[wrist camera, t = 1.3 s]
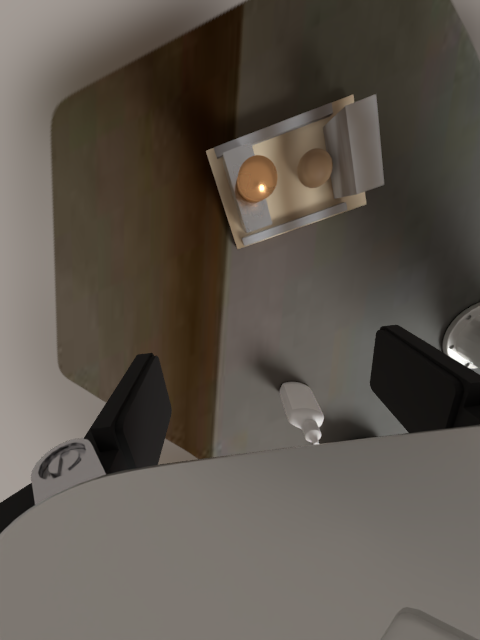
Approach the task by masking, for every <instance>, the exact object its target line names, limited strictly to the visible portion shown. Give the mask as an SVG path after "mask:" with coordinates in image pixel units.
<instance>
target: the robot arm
mask: <svg viewBox="0 0 480 640" xmlns="http://www.w3.org/2000/svg"><path fill="white" fill-rule="evenodd" d="M443 352H444V353H443ZM443 352H441V351H440V350H438V349H436V348H435V347H433V346H431V345H430V344H428V343H426V342H425V341H423V340H422V339H420V338H418V337H417V336H415V335H413V334H412V333H410V332H408V331H407V330H405V329H403V328H402V327H400V326H398V325H390V326H382V327H381V328H380V330H378V331H377V332H376V338H375V346H374V354H373V362H372V370H371V379H370V386H371V389H372V391H373V392H374V393H375V394H376V395H377V396H378V398H379V399H380V400H381V401H382V402H383V403H384V405H385V406H386V407H387V408H388V409H389V410H390V411H391V413H392V414H393V415H394V416H395V417H396V418H397V420H398V421H399V422H400V423H401V424H402V425H403V426H404V428H405V429H406V430H407V431H408V432H409V433H406V434H398V435H389V436H381V437H372V438H364V439H356V440H347V441H339V442H331V443H323V444H315V445H307V446H299V447H291V448H283V449H275V450H267V451H259V452H252V453H244V454H236V455H229V456H221V457H213V458H205V459H198V460H191V461H182V462H175V463H167V464H160V465H158V462H159V458H160V454H161V450H162V447H163V443H164V439H165V436H166V432H167V428H168V425H169V421H170V417H171V404H170V400H169V396H168V393H167V389H166V385H165V381H164V377H163V373H162V369H161V365H160V362H159V358H158V356H154V355H153V354H152V353H148V354H139V355H137V356H136V358H135V359H134V361H133V362H132V364H131V365H130V367H129V369H128V370H127V372H126V373H125V375H124V376H123V378H122V380H121V381H120V383H119V384H118V386H117V387H116V389H115V390H114V392H113V394H112V395H111V397H110V398H109V400H108V401H107V403H106V404H105V406H104V408H103V409H102V411H101V412H100V414H99V415H98V417H97V419H96V420H95V422H94V423H93V425H92V426H91V428H90V429H89V431H88V433H87V434H86V436H85V437H84V439H83V438H78V439H73V440H69V441H66V442H64V443H62V444H59V445H58V446H56V447H54V448H53V449H51V450H50V451H49V452H47V453H46V454H45V455H44V456H43V457H42V458H41V459H40V460H39V461H38V462H37V463H36V465H35V467H34V469H33V470H32V474H31V481H32V483H31V484H29V485H27V486H26V487H24V488H23V489H21V490H20V491H18V492H17V493H15V494H13V495H12V496H10V497H9V498H7V499H6V500H4V501H3V502H1V503H0V640H480V375H479V374H477V373H476V372H474V371H473V370H471V369H473V368H480V303H477V304H475V305H473V306H471V307H469V308H467V309H466V310H464V311H463V312H462V313H461V314H459V315H458V316H457V317H456V318H455V319H454V320H453V322H452V323H451V324H450V326H449V327H448V329H447V331H446V333H445V335H444V339H443Z"/></svg>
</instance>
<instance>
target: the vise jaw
mask: <svg viewBox="0 0 480 640" xmlns="http://www.w3.org/2000/svg"><path fill="white" fill-rule="evenodd" d="M223 165H224V169H225V172H226V175H227V179H228V182H229V185H230V188H231V192H232V195H233V198H234V201H235V205H236V208H237V211H238V214H239V218H240V221H241V224H242V228H243V231H244V232H246V233H249V232H251V231H254V230H257V229H260V228H263V227H266V226H268V225H271V224H272V220H271V216H270V213H269V209H268V205H267V201H266V198H267V197H269V196H270V195H271V194H272V193H273V191H274V189H275V187H276V184H277V178H278V177H277V170H276V167H275V165H274V164H273V162H272V161H271V160H270V159H268V158H267V157H265V156H261V155H254V151H253V147H252V143H251V142H250V143H247V144H244V145H242V146H239V147H236V148H234V149H231V150H229V151H226V152H223Z"/></svg>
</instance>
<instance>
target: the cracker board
mask: <svg viewBox="0 0 480 640" xmlns="http://www.w3.org/2000/svg"><path fill="white" fill-rule="evenodd" d="M250 142H251V143H252V147H253V151H254V155H261V156H265V157H267V158H268V159H270V160H271V161H272V162H273V164H274V165H275V167H276V170H277V177H278V178H277V184H276V187H275V189H274V191H273V193H272V194H271V195H270V196H269V197H267V198H266V201H267V205H268V209H269V213H270V216H271V220H272V224H271V225H268V226H266V227H263V228H260V229H257V230H254V231H251V232H249V233H246V232H244V231H243V228H242V224H241V221H240V218H239V214H238V211H237V208H236V205H235V201H234V198H233V195H232V192H231V188H230V185H229V182H228V179H227V175H226V172H225V169H224V165H223V152H226V151H229V150H231V149H234V148H236V147H239V146H242V145H244V144H247V143H250ZM315 148H320V149H324V150H325V151H327V152H328V153H329V154H330V156H331V158H332V162H333V169H332V173H331V175H330V177H329V179H328V180H327V181H326V182H325V183H324V184H323V185H321V186H319V187H317V188H308V187H306V186H304V185H303V184H302V183H301V182H300V180H299V178H298V174H297V168H298V164H299V161H300V159H301V158H302V156H303V155H304V154H305V153H306V152H308V151H309V150H311V149H315ZM206 154H207V157H208V160H209V163H210V166H211V169H212V172H213V175H214V178H215V181H216V184H217V188H218V191H219V194H220V197H221V200H222V203H223V206H224V209H225V212H226V215H227V218H228V222H229V225H230V228H231V231H232V234H233V237H234V240H235V243H236V246H237V249H240V248H243V247H245V246H248V245H251V244H254V243H257V242H260V241H263V240H266V239H268V238H271V237H274V236H277V235H280V234H283V233H286V232H288V231H291V230H294V229H297V228H300V227H303V226H306V225H309V224H311V223H314V222H317V221H320V220H323V219H326V218H329V217H331V216H334V215H337V214H340V213H343V212H346V211H349V210H352V209H354V208H357V207H360V206H363V205H366V196H365V191H368V190H371V189H373V188H376V187H379V186H382V185H384V175H383V164H382V153H381V142H380V131H379V120H378V109H377V98H376V94H375V95H373V96H370V97H367V98H365V99H362V100H359V101H357V102H354V95H350V96H348V97H345V98H343V99H340V100H337V101H335V102H331V103H329V104H326V105H323V106H321V107H318V108H316V109H313V110H310V111H308V112H305V113H303V114H300V115H297V116H295V117H292V118H290V119H287V120H284V121H282V122H279V123H276V124H274V125H271V126H269V127H266V128H263V129H261V130H258V131H256V132H253V133H250V134H248V135H245V136H243V137H240V138H237V139H235V140H232V141H229V142H227V143H224V144H222V145H219V146H216V147H214V148H212V149H209V150H207V151H206Z"/></svg>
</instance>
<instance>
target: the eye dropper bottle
mask: <svg viewBox="0 0 480 640" xmlns="http://www.w3.org/2000/svg"><path fill="white" fill-rule="evenodd" d="M279 393H280V396H281V400H282V403H283V406H284V409H285V412H286V415H287V418H288V421H289V422H290V423H291V424H292V425H294V426H296V427H298V428H300V429H302V431H303V434H304V437H305V439H306V440H307V441H309V442H312V443H313V444H314V445H315V444H319V441H318V440H319V439H320V438H321V431H320V429H319V427H320V426H321V425H322V423H323V420H324V415H323V413H322V411H321V409H320V407H319V405H318V403H317V401H316V399H315V397H314V395H313V393H312V391H311V389H310V387H308V386H307V385H305V384H302V383H299V382H286V383H283V384H282V385H281V388H280V391H279Z"/></svg>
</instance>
